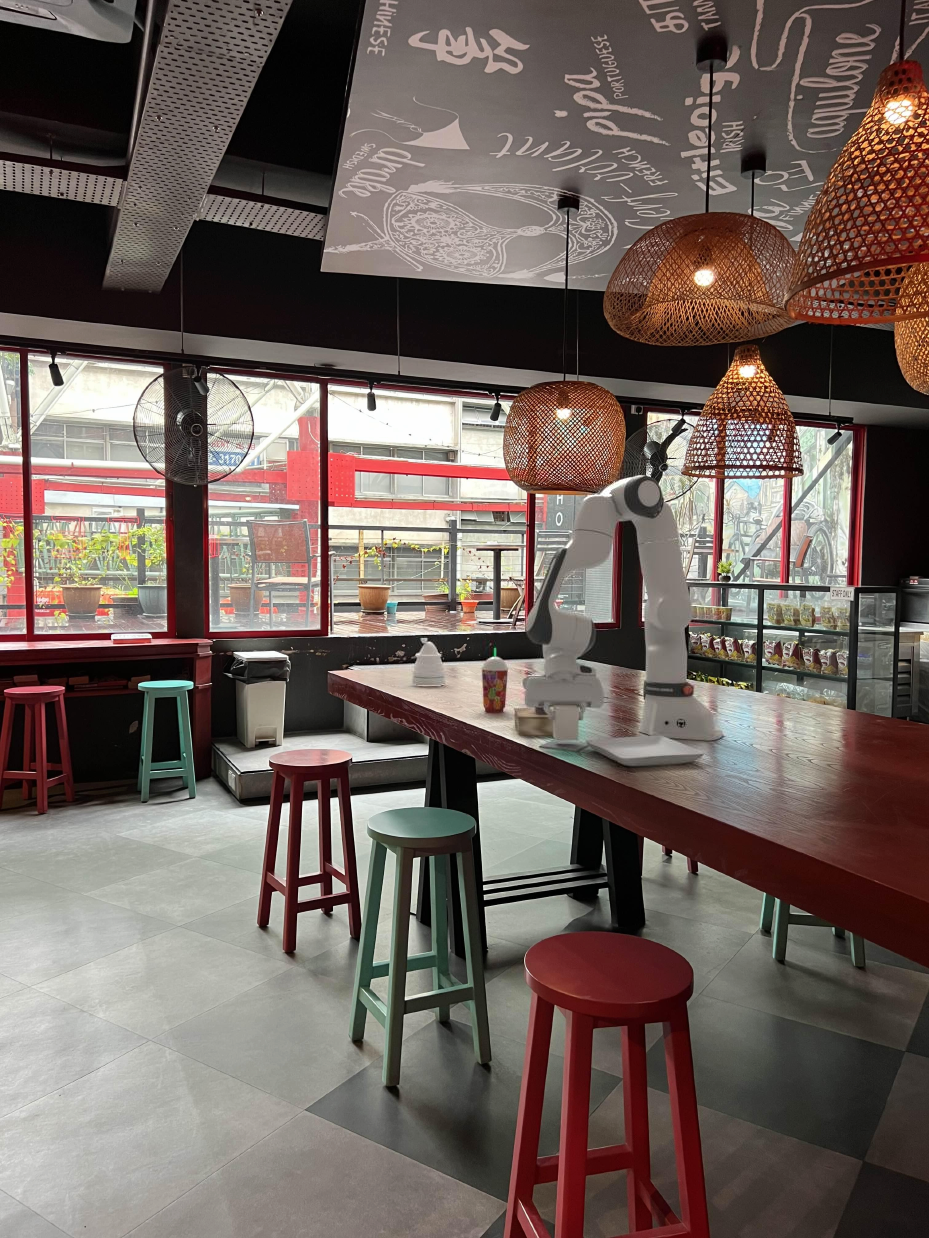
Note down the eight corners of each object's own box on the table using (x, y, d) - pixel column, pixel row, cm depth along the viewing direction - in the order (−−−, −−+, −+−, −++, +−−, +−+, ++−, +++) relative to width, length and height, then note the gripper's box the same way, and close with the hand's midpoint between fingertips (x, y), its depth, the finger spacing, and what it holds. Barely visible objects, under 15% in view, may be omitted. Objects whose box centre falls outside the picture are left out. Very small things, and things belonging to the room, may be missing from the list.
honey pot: (410, 686, 327) (410, 639, 326) (413, 682, 340) (414, 637, 339) (444, 687, 327) (444, 640, 326) (446, 682, 339) (446, 637, 338)
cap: (574, 736, 219) (575, 705, 219) (578, 740, 214) (578, 708, 213) (553, 735, 219) (553, 704, 219) (555, 740, 214) (556, 708, 213)
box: (564, 725, 246) (564, 698, 245) (571, 735, 231) (571, 705, 231) (513, 725, 245) (514, 697, 245) (517, 734, 231) (518, 705, 231)
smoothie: (508, 709, 274) (509, 647, 273) (506, 713, 266) (507, 649, 265) (482, 709, 275) (482, 646, 274) (480, 713, 266) (480, 648, 265)
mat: (591, 744, 219) (591, 743, 219) (576, 751, 210) (576, 750, 210) (554, 740, 223) (554, 739, 223) (539, 747, 215) (539, 745, 215)
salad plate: (622, 771, 191) (622, 756, 191) (583, 752, 211) (583, 738, 211) (706, 767, 197) (706, 752, 196) (661, 748, 217) (661, 735, 217)
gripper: (523, 667, 222) (525, 711, 213) (601, 668, 223) (607, 712, 214) (521, 682, 227) (523, 725, 218) (598, 683, 227) (604, 726, 218)
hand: (566, 719), depth 216 cm, fingers closed on cap, 6 cm apart
